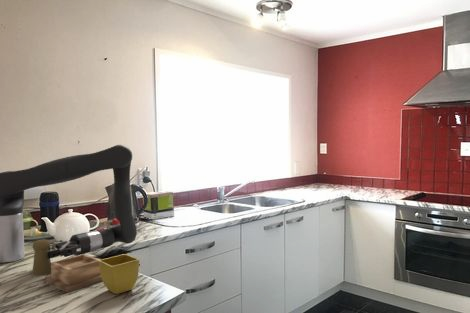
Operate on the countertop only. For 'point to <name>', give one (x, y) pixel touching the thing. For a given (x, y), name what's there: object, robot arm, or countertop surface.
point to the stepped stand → (74, 273)
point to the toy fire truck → (106, 223)
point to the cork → (41, 258)
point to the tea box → (159, 205)
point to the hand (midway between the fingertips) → (41, 253)
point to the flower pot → (119, 272)
